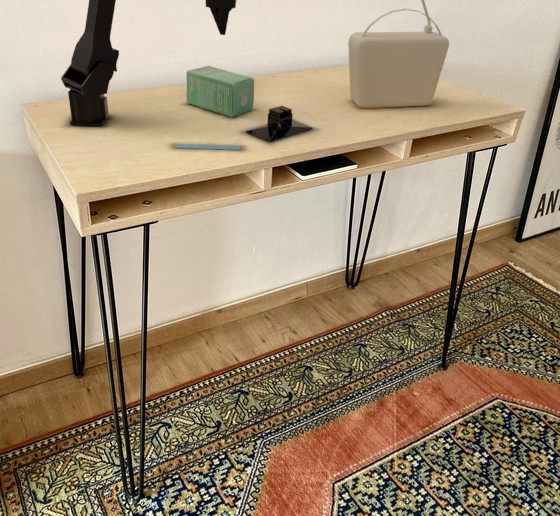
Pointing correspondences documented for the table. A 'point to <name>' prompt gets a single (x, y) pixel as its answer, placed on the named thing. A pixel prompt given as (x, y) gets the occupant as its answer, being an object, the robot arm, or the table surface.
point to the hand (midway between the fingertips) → (222, 34)
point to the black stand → (279, 126)
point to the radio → (396, 66)
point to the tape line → (209, 147)
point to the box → (220, 90)
